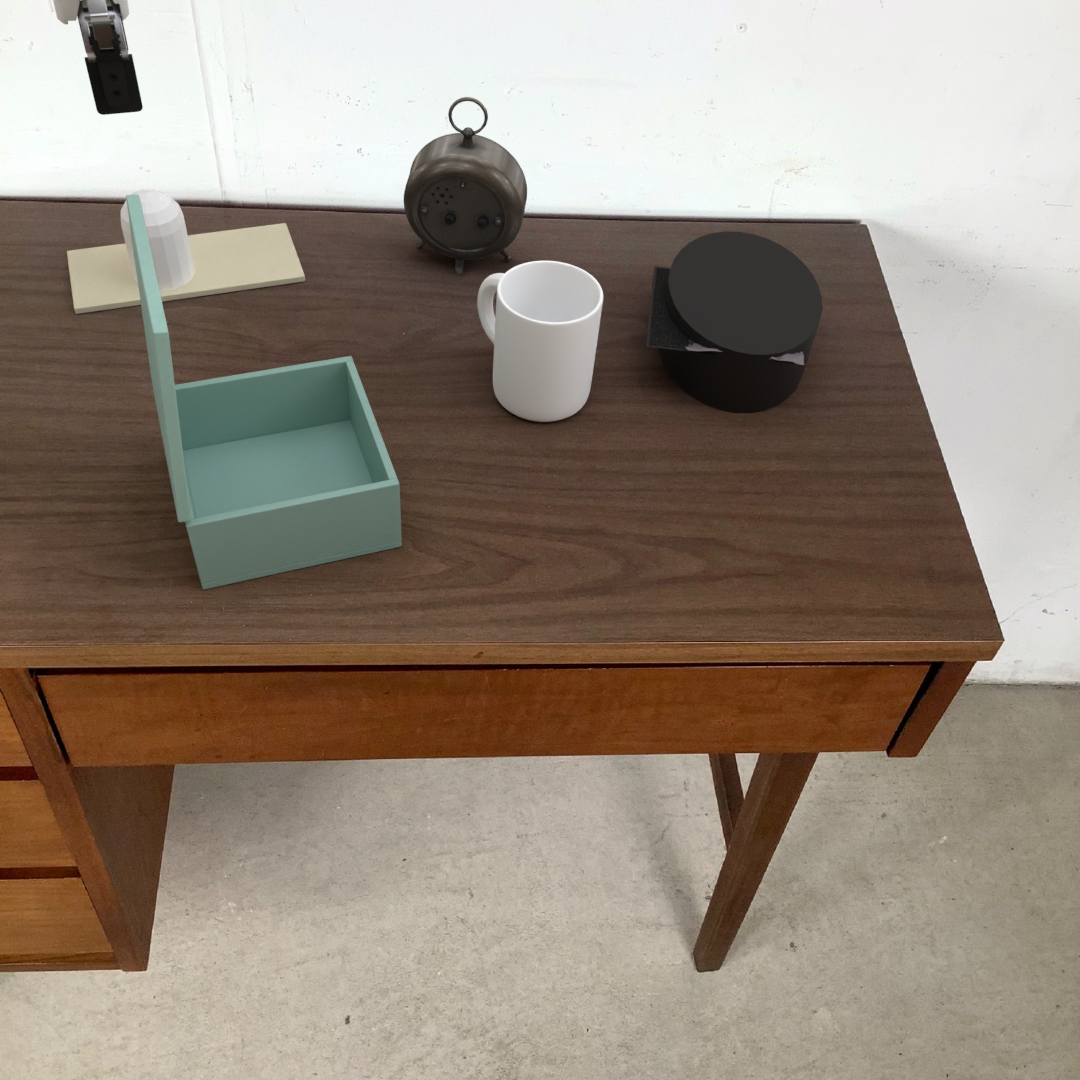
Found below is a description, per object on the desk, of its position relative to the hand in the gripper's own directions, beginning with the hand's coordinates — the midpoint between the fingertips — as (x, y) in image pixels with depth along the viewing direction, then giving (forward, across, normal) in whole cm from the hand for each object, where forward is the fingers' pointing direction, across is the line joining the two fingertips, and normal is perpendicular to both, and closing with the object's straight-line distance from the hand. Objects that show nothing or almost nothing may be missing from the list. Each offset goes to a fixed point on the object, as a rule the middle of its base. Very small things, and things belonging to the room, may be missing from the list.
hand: (113, 81), depth 82 cm
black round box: (+19, +20, +47) cm, 54 cm away
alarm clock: (+19, +2, +28) cm, 34 cm away
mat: (+19, -3, +3) cm, 19 cm away
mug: (+19, +20, +28) cm, 39 cm away
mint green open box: (+19, +28, +6) cm, 35 cm away
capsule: (+19, -2, +1) cm, 19 cm away
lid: (+5, +28, -1) cm, 29 cm away
